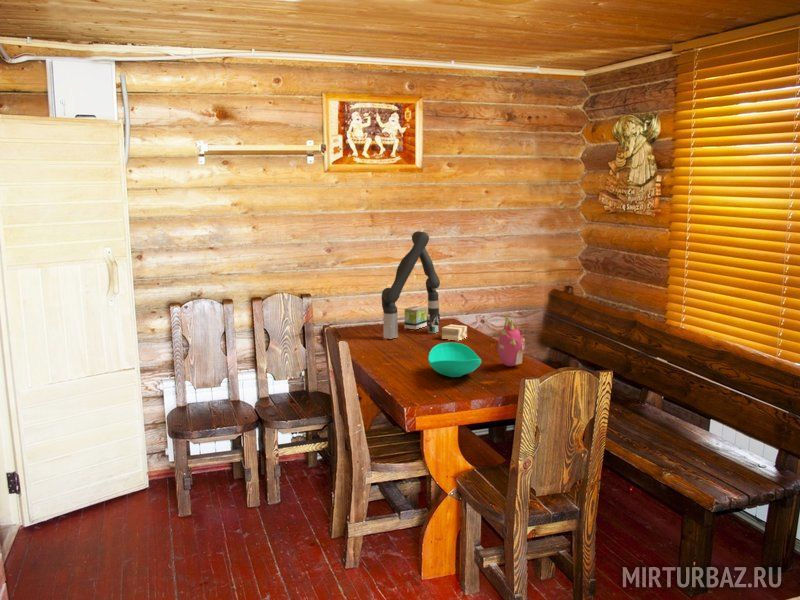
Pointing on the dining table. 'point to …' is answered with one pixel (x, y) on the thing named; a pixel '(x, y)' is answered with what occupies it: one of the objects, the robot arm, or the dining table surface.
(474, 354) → the table top decor
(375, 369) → the dining table surface
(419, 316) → the tea box
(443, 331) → the birch block
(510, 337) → the pink dragon fruit
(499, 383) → the dining table surface
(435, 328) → the teal cube
